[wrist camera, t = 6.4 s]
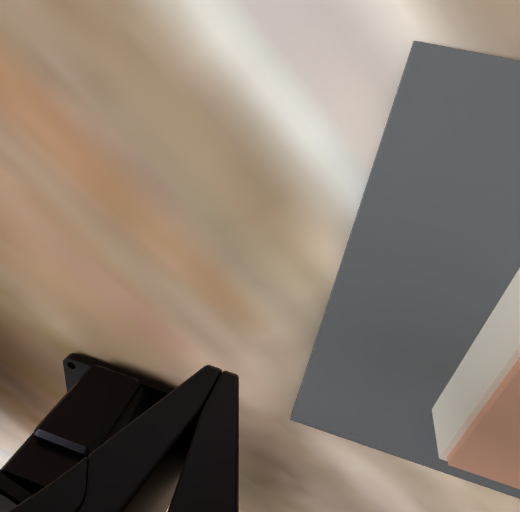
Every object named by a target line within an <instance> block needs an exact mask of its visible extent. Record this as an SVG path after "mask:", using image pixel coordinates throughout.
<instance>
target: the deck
mask: <svg viewBox="0 0 520 512" xmlns="http://www.w3.org/2000/svg"><path fill="white" fill-rule="evenodd" d="M432 415H433V422H434V428H435V435H436V442H437V448H438V455H439V459H442V460H445V461H448V465H450V466H453V467H456V468H459V469H462V470H464V471H467V472H470V473H473V474H476V475H479V476H482V477H485V478H488V479H491V480H494V481H497V482H500V483H503V484H506V485H508V486H511V487H514V488H517V489H520V268H519V270H518V271H517V273H516V275H515V276H514V278H513V279H512V281H511V283H510V284H509V286H508V287H507V289H506V291H505V292H504V294H503V295H502V297H501V299H500V300H499V302H498V304H497V305H496V307H495V308H494V310H493V312H492V313H491V315H490V316H489V318H488V320H487V321H486V323H485V324H484V326H483V328H482V329H481V331H480V333H479V334H478V336H477V337H476V339H475V341H474V342H473V344H472V345H471V347H470V349H469V350H468V352H467V353H466V355H465V357H464V358H463V360H462V362H461V363H460V365H459V366H458V368H457V370H456V371H455V373H454V374H453V376H452V378H451V379H450V381H449V382H448V384H447V386H446V387H445V389H444V391H443V392H442V394H441V395H440V397H439V399H438V400H437V402H436V403H435V405H434V407H433V408H432Z"/></svg>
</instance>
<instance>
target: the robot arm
mask: <svg viewBox="0 0 520 512" xmlns="http://www.w3.org/2000/svg"><path fill="white" fill-rule="evenodd" d="M63 365H64V372H65V379H66V386H67V393H66V394H65V396H64V397H63V398H62V399H61V400H60V401H59V402H58V403H57V405H56V406H55V407H54V408H53V409H52V410H51V411H50V412H49V414H48V415H47V416H46V417H45V418H44V419H43V420H42V421H41V423H40V424H39V425H38V426H37V427H36V429H35V430H34V432H33V433H32V435H31V436H30V437H29V438H28V439H27V440H26V441H25V442H24V444H23V445H22V446H21V447H20V448H19V449H18V450H17V451H16V453H15V454H14V455H13V456H12V457H11V458H10V459H9V461H8V462H7V463H6V464H5V465H4V466H3V467H2V468H1V470H0V512H166V510H167V508H168V506H169V504H170V506H169V509H168V512H239V377H238V375H237V374H234V373H231V372H228V371H223V372H222V370H221V369H220V368H217V367H214V366H211V365H206V366H204V367H203V368H202V369H200V370H199V371H198V372H197V373H195V374H194V375H193V376H191V377H190V378H189V379H187V380H186V381H185V382H183V383H182V384H181V385H180V386H178V387H177V388H176V389H174V388H172V387H170V386H167V385H164V384H161V383H158V382H155V381H152V380H149V379H147V378H144V377H141V376H138V375H135V374H132V373H129V372H126V371H124V370H121V369H118V368H115V367H112V366H109V365H106V364H103V363H100V362H98V361H95V360H92V359H89V358H86V357H83V356H80V355H77V354H74V353H71V354H69V355H68V356H67V357H66V358H65V359H64V360H63ZM170 502H171V503H170Z"/></svg>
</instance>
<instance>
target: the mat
mask: <svg viewBox="0 0 520 512" xmlns="http://www.w3.org/2000/svg"><path fill="white" fill-rule="evenodd" d="M519 268H520V61H518V60H513V59H508V58H503V57H497V56H492V55H487V54H481V53H476V52H471V51H466V50H460V49H455V48H450V47H445V46H439V45H434V44H429V43H423V42H418V41H414V42H413V45H412V48H411V51H410V54H409V57H408V60H407V63H406V66H405V69H404V72H403V75H402V78H401V81H400V85H399V88H398V91H397V94H396V97H395V100H394V103H393V106H392V109H391V112H390V115H389V118H388V121H387V124H386V127H385V130H384V133H383V136H382V140H381V143H380V146H379V149H378V152H377V155H376V158H375V161H374V164H373V167H372V170H371V173H370V176H369V179H368V182H367V185H366V188H365V192H364V195H363V198H362V201H361V204H360V207H359V210H358V213H357V216H356V219H355V222H354V225H353V228H352V231H351V234H350V237H349V240H348V243H347V247H346V250H345V253H344V256H343V259H342V262H341V265H340V268H339V271H338V274H337V277H336V280H335V283H334V286H333V289H332V292H331V295H330V298H329V302H328V305H327V308H326V311H325V314H324V317H323V320H322V323H321V326H320V329H319V332H318V335H317V338H316V341H315V344H314V347H313V350H312V354H311V357H310V360H309V363H308V366H307V369H306V372H305V375H304V378H303V381H302V384H301V387H300V390H299V393H298V396H297V399H296V402H295V405H294V409H293V412H292V415H291V419H290V420H293V421H296V422H298V423H301V424H304V425H307V426H310V427H313V428H316V429H319V430H322V431H325V432H328V433H330V434H333V435H336V436H339V437H342V438H345V439H348V440H351V441H354V442H357V443H359V444H362V445H365V446H368V447H371V448H374V449H377V450H380V451H383V452H386V453H389V454H391V455H394V456H397V457H400V458H403V459H406V460H409V461H412V462H415V463H418V464H421V465H423V466H426V467H429V468H432V469H435V470H438V471H441V472H444V473H447V474H450V475H452V476H455V477H458V478H461V479H464V480H467V481H470V482H473V483H476V484H479V485H482V486H484V487H487V488H490V489H493V490H496V491H499V492H502V493H505V494H508V495H511V496H514V497H516V498H519V499H520V489H517V488H514V487H511V486H508V485H506V484H503V483H500V482H497V481H494V480H491V479H488V478H485V477H482V476H479V475H476V474H473V473H470V472H467V471H464V470H462V469H459V468H456V467H453V466H450V465H448V461H445V460H442V459H439V455H438V448H437V442H436V435H435V428H434V422H433V415H432V408H433V407H434V405H435V403H436V402H437V400H438V399H439V397H440V395H441V394H442V392H443V391H444V389H445V387H446V386H447V384H448V382H449V381H450V379H451V378H452V376H453V374H454V373H455V371H456V370H457V368H458V366H459V365H460V363H461V362H462V360H463V358H464V357H465V355H466V353H467V352H468V350H469V349H470V347H471V345H472V344H473V342H474V341H475V339H476V337H477V336H478V334H479V333H480V331H481V329H482V328H483V326H484V324H485V323H486V321H487V320H488V318H489V316H490V315H491V313H492V312H493V310H494V308H495V307H496V305H497V304H498V302H499V300H500V299H501V297H502V295H503V294H504V292H505V291H506V289H507V287H508V286H509V284H510V283H511V281H512V279H513V278H514V276H515V275H516V273H517V271H518V270H519Z"/></svg>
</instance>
